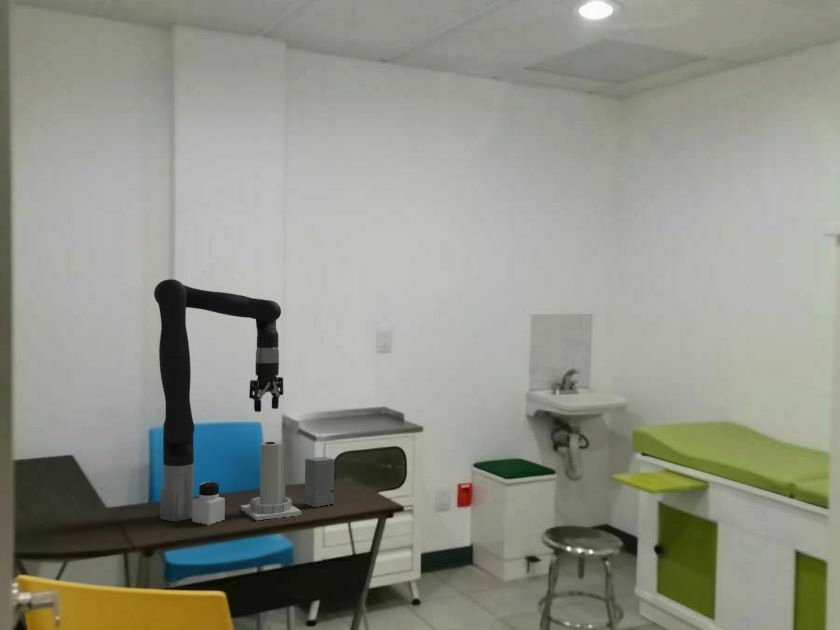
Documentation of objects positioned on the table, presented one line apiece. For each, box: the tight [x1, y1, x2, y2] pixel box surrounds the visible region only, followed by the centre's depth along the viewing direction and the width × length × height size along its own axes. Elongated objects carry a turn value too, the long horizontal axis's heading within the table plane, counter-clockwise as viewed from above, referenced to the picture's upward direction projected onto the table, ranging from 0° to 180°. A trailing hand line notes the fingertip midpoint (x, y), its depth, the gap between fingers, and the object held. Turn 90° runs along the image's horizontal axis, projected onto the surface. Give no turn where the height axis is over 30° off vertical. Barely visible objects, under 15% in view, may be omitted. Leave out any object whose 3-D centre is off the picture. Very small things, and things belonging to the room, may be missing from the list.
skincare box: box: [304, 456, 335, 508], centre depth 281 cm, size 8×7×16 cm
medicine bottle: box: [191, 481, 226, 526], centre depth 259 cm, size 7×7×12 cm
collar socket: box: [240, 496, 302, 521], centre depth 270 cm, size 15×15×4 cm
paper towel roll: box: [259, 441, 287, 505], centre depth 270 cm, size 7×6×21 cm
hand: (266, 410), depth 273 cm, fingers open, 8 cm apart
